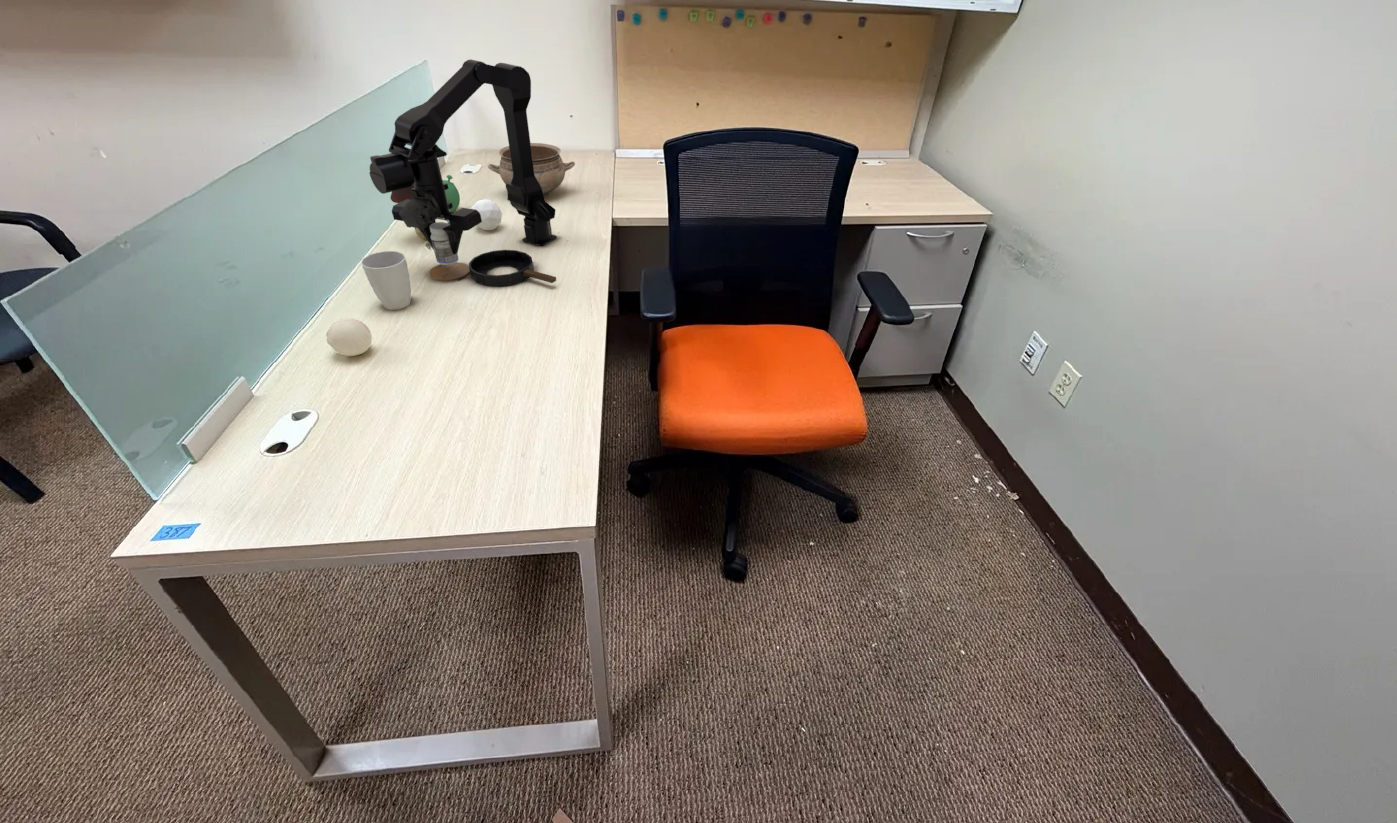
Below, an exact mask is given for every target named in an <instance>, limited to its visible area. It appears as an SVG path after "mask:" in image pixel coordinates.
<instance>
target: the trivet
mask: <svg viewBox="0 0 1397 823" xmlns="http://www.w3.org/2000/svg"><path fill="white" fill-rule="evenodd" d="M428 275H429V277H430V279H432V280H434V281H436V282H437V281H438V282H455V281H459V280H461V279H465V278H466V277H468V276H469V275H471V274H470V270H469V264H466V263H464V262H458V261H457V262H456V263H454V264H451V265H441V264H438V265H435V266H433V267H432V268H431V269H430V270H429V271H428Z"/></svg>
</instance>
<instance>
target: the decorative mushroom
mask: <svg viewBox="0 0 1397 823" xmlns="http://www.w3.org/2000/svg"><path fill="white" fill-rule="evenodd" d="M414 187H415V186H414V184H412V185H411V187H408V188H404V189H400V190H396V191H392V192H390V197H389V198H390V201H391V202H392V203H395V204H398V203H400V202H402V201H404V200H406V199H409V200H411V199H412V195H411V189H412V188H414ZM414 230H415V234H416V235H417V237H418V238H420V239H422V240H426V238H425V237H424V235H423V234H422V233H421V231H420V230H419V229H418V228H414Z"/></svg>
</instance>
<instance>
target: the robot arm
mask: <svg viewBox="0 0 1397 823" xmlns="http://www.w3.org/2000/svg"><path fill="white" fill-rule="evenodd" d="M485 84H487V85H492V90H493V92H494V96H495V97H496V100H497V101H498V102H499V104H500V106H501V108H502V110H503V115H504V122H505V129H506V135H507V141H508V146H509V149H510V155H511V162H512V169H513V178H512V181H511V183H506V184H505V189H506V192H507V198H506V200H507V201H508V202H509V203H510V205H511V207H512V208H513V209H515V210H516V211H517V214H518V215H521V216H523V217H524V218H523V224H524V225H523V229H524V236H525V237H522V239H521V241H522V242H525V243H528V244H532V245H535V246H540V247H543V246H545V245H547V244H548V243H549V244H550V242H552V241H555V239H557V238H558V236H557V235H555V234H553V233H552V232H553V231H552V224H551V220H553V219H555V217H556V209H555V208H554V207H553V206H552V205H550V204H549V202H547V201H546V199H545V196H544V194H543V190H542V187H541V186H540V184H539V182H538V180H537V179H536V177H535V174H534V167H533V159H532V151H531V143H532V142H531V136H530V128H529V120H528V113H527V109H528V106H529V103H530V100H531V98H532V79H531V75H530V73H529V72H528V71H527V70H526V69H525V68H524V67H522V66H521V65H515V64H511V63H505V62H498V63H496V64H495V65H492V64H487V63H485V62H483V61H481V60H476V59H472V58H471V59H467V60H465V61H463V64H462V66H461V67H460V68H459V69H458V70H457V71H456V72H455V73H454V74H453V75H452V76H451V77H450V78H449V79H448V80H447V81H446V82H445V83H444V84H443V85H442V86H440V88H439V89H438V90H437V91H436V92H435V93H434V94H433V95H432V96H430V98H429V99H428V100H427V101H425V102H424V103H422V104H419V105H417V106H414V107H411V108H410V109H408V110H406V111H405V112H404V113H402V114H400V115H399V116H398V117H397V118H396V119H395V121H394V133H393V136H392V139H391V141H390V145H389V148H388V152H389V153H386V154H382V155H378V154H377V155H372V156H370V157H369V159H370V162H371V163H370V165H369V176H370V179H371V182H372V184H373V186H374V187H375V188H376V190H377V191H378V192H379V193H380V194H383V195H384V194H388V193H392V191H396V190H400V189H404V188H408V187H411V185H412V184H414V186H415V187H414V188H412V189H411V195H412V199H411V200H409V199H406V200H404V201H402V202H400V203H395V204H394V205H392V208H391V214H392V218H393V220H395V221H401V222H404V225H405V226H406V227H407V228H414V229H415V228H418V229H419V230H420V231H421V233H422V234H423V235H424V237H425V238H426V239H425V240H426V241H427V242H428V244H429V246H431V248H432V250H433V251H434V249H433V245H432V241H431V237H430V236H431V234H432V233H431V231H430V225H431V224H433V223H437V222H436V221H437V220H441V221H446V223H447V224H448V226H446V227H444V228H443V229H442V230H444V231H445V232H446V233H447V234H448V238H449V242H450V246H451V249H452V252H453V254H458V252H459V249H460V245H461V239H462V236H463V233H464V232H466V231H470V230H472V229H473V228H475V227H477V226H476V225H478V224H479V223H481V222H482V220H481V215H480V212H478V211H477V210H475V209H471V208H468V207H461V208H460V209H458V210H455V211H453V212H449V211H450V210H449V209H451V208H453V205H452V203H450V202H448V201H447V197H446V193H445V190H447V189H448V184H446V183H443V180H444V179H443V176H442V173H441V168H440V164H439V158H443V157H446V156H447V155H448V153H447V151H444V150H443V149H442V148H440V147H439V146H438V144H437V143H438V142H439V140H440V139H441V136H443V133H444V129H445V125H446V123H447V122H448V120H449V119H450V118H451V117H452V116H453V115H454V114H455V113H456V112H457V111H458V110H459V109H460V108H461V107H462V106H463V105H464V104H465V103H466V102H467V101H468V100H469V99H470V98H472V96H473V95H474V94H475V93H476V92H477V91H478V90H479V89H480V88H481V87H482V86H483V85H485ZM407 146H410V148H409V147H407Z"/></svg>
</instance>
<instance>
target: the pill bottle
mask: <svg viewBox="0 0 1397 823" xmlns="http://www.w3.org/2000/svg"><path fill="white" fill-rule="evenodd" d="M447 223H448V222H445V221H444V222H443V221H439V222H438V221H437V222H436V223H433V224H431V225H430V231H431V233H432V234H431V236H430V237H431V241H432V245H433V248H432V250H433V249H434V250H433V253H434V256H435V260H436V263H437V264H438V265H440V264H441V265H451V264H454V263H456V262H457V263H458V261H459V254H458V253H457V254H453V252H452V249H451V246H450V242H449V238H448V234H447V233H446V232H445V231H444V230H442V229H443V228H444V227H446V226H448V224H447Z"/></svg>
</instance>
